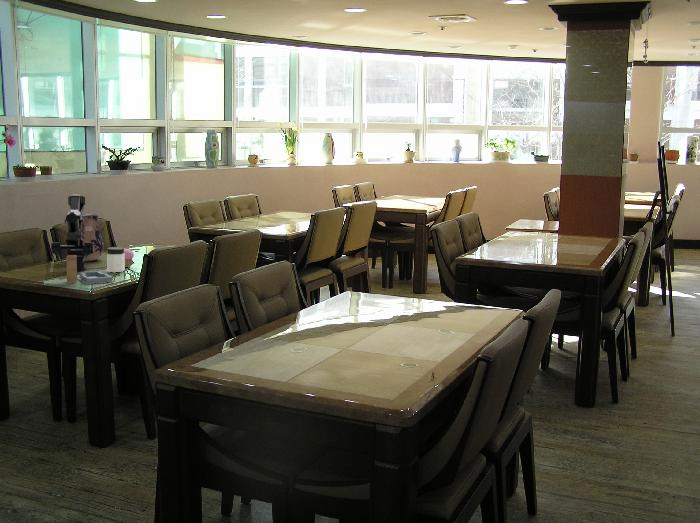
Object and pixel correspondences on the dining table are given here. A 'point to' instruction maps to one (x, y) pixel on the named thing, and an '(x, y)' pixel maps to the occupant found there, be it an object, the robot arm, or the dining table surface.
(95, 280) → the grey shallow tray
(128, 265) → the cupcake
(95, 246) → the ceramic pitcher
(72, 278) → the tan tall block
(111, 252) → the jar
